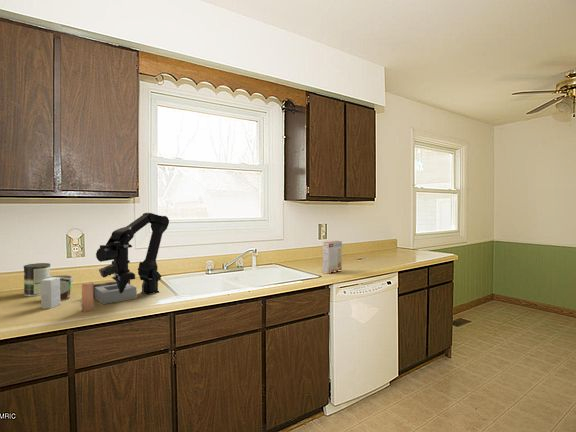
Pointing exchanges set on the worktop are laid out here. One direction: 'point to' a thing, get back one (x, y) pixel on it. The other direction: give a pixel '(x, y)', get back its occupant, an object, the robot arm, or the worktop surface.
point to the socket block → (114, 293)
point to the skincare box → (50, 292)
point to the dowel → (87, 297)
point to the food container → (64, 286)
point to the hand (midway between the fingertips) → (121, 292)
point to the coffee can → (35, 278)
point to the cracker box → (332, 256)
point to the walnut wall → (105, 284)
